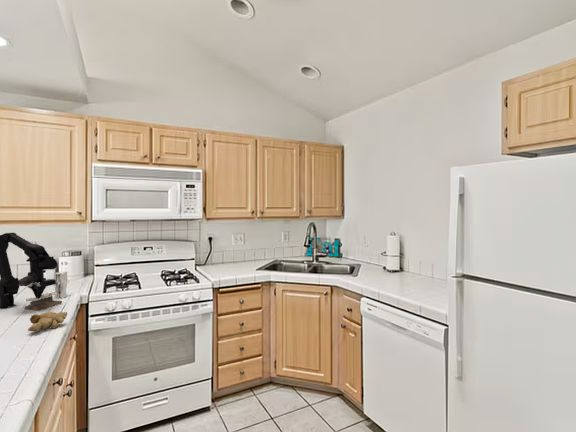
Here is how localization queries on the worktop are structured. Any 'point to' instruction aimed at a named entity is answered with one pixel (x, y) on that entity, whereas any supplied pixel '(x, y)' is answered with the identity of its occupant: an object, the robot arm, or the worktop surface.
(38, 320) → the ginger root
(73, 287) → the worktop surface
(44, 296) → the middle rocker
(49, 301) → the switch unit
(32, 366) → the worktop surface
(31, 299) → the near rocker
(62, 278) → the beer glass
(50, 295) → the far rocker
